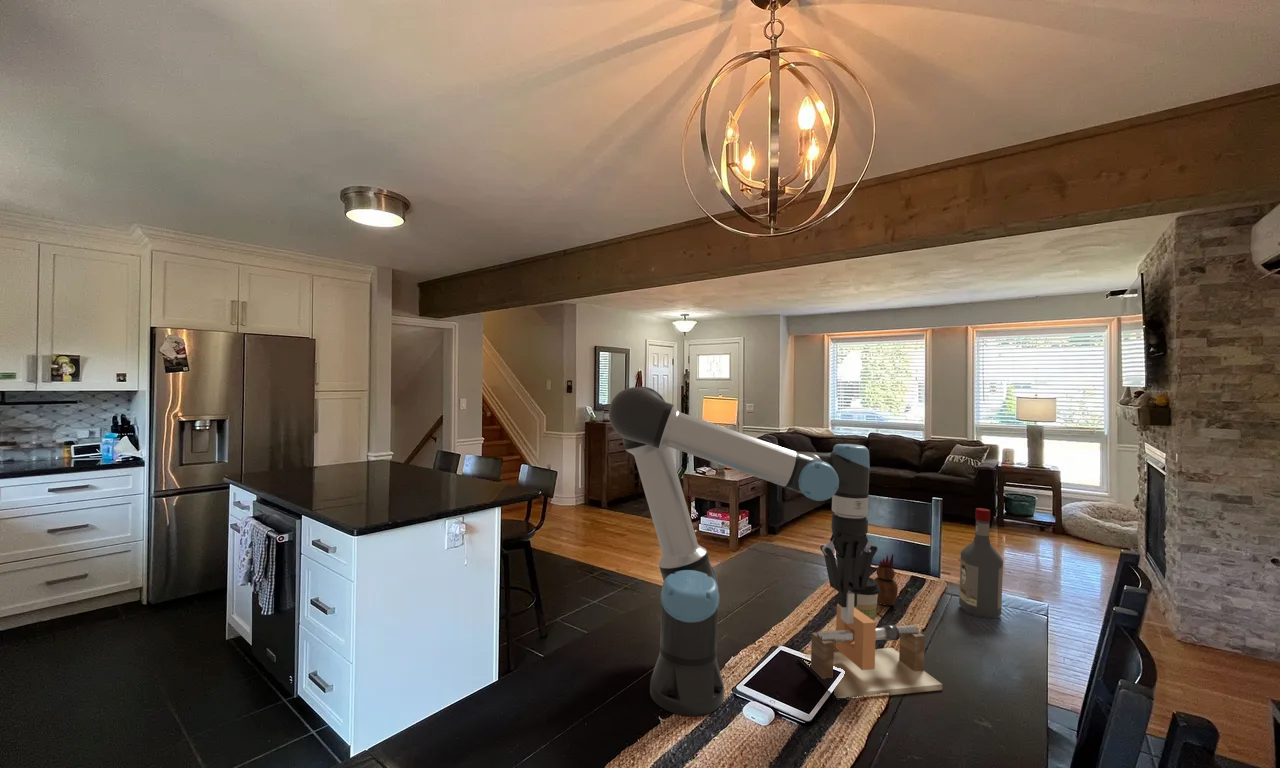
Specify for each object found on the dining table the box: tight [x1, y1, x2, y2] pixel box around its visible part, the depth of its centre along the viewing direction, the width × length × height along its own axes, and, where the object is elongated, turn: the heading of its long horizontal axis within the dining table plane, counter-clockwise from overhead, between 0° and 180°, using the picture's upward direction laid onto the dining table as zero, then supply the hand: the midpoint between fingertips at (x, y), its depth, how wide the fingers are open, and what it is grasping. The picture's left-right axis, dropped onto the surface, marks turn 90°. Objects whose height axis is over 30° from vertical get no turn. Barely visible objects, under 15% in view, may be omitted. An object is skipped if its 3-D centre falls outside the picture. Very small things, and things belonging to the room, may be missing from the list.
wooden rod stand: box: [802, 631, 943, 698], centre depth 120 cm, size 25×16×9 cm, turn 102°
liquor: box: [958, 507, 1004, 620], centre depth 157 cm, size 9×9×30 cm
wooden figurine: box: [873, 554, 899, 606], centre depth 161 cm, size 7×6×15 cm
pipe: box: [816, 624, 920, 644], centre depth 120 cm, size 24×3×3 cm, turn 102°
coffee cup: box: [848, 576, 880, 621], centre depth 137 cm, size 10×10×15 cm
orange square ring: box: [835, 603, 877, 670], centre depth 119 cm, size 3×10×10 cm, turn 12°
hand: (847, 620), depth 119 cm, fingers closed
